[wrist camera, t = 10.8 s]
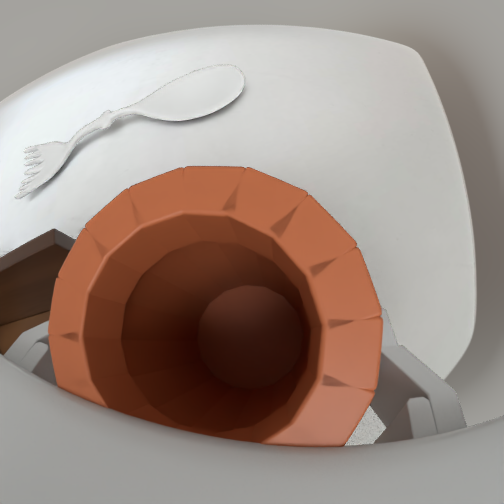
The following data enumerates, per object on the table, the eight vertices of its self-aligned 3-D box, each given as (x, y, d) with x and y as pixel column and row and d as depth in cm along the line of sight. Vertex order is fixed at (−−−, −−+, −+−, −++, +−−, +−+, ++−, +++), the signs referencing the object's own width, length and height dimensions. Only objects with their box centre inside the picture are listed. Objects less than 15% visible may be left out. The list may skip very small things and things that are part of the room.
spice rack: (193, 396, 21) (95, 456, 7) (40, 408, 21) (-54, 419, 8) (164, 283, 24) (54, 227, 10) (23, 325, 24) (-70, 306, 10)
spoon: (34, 159, 31) (21, 147, 28) (235, 68, 31) (232, 48, 28) (27, 209, 28) (11, 199, 25) (256, 110, 28) (253, 88, 25)
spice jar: (325, 375, 13) (416, 445, 3) (210, 406, 13) (97, 498, 3) (290, 263, 14) (306, 129, 5) (180, 296, 15) (42, 226, 5)
